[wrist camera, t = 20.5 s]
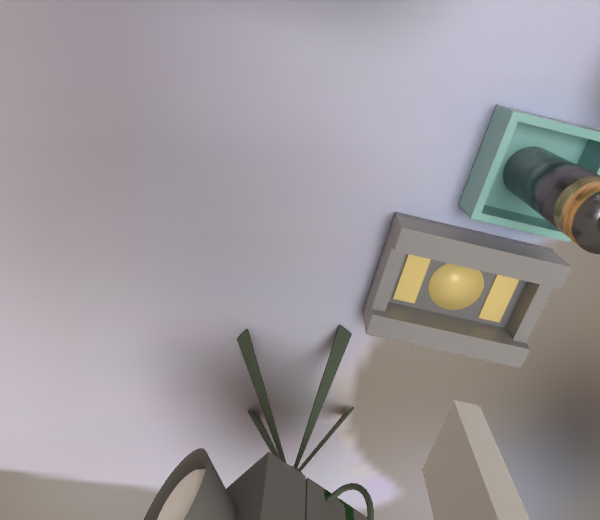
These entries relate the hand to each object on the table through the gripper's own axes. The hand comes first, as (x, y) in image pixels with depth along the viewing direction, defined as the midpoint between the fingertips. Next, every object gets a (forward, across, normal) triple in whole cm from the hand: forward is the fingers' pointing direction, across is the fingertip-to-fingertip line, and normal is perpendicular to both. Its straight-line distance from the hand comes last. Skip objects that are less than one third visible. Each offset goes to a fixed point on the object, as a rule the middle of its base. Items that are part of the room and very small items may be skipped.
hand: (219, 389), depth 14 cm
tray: (+29, +19, +4) cm, 35 cm away
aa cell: (+28, +19, +4) cm, 34 cm away
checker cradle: (+29, +17, -7) cm, 34 cm away
